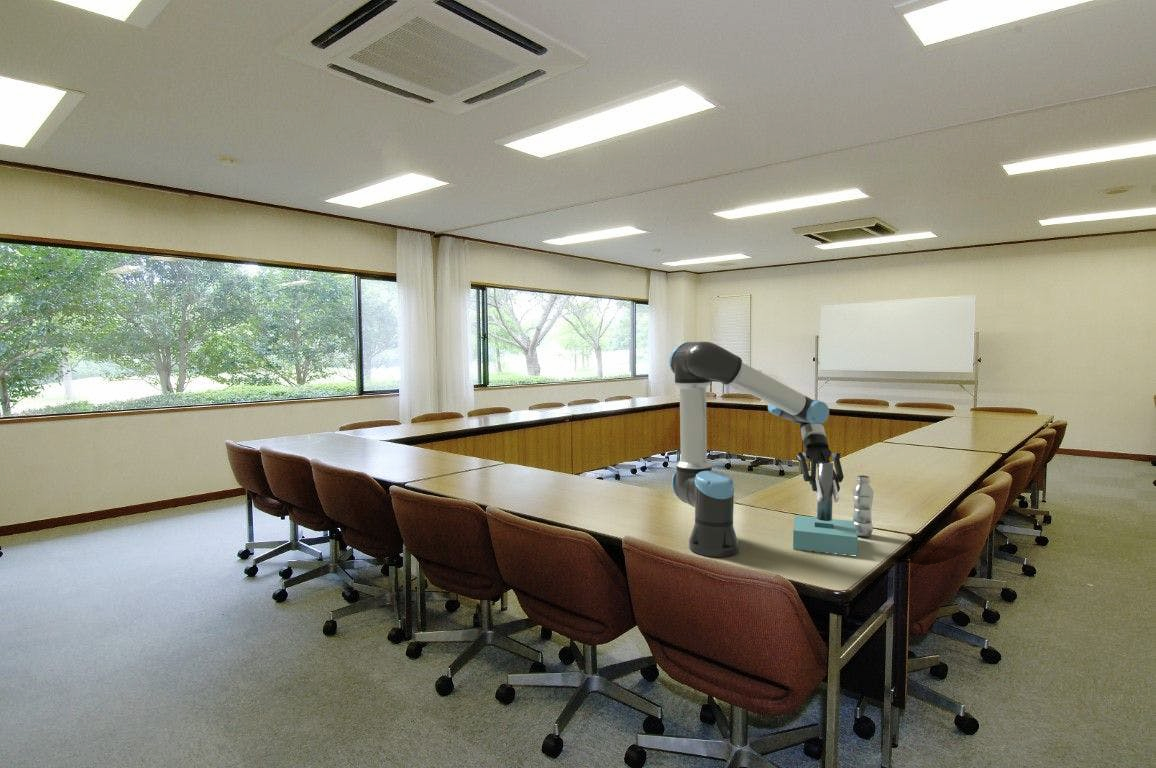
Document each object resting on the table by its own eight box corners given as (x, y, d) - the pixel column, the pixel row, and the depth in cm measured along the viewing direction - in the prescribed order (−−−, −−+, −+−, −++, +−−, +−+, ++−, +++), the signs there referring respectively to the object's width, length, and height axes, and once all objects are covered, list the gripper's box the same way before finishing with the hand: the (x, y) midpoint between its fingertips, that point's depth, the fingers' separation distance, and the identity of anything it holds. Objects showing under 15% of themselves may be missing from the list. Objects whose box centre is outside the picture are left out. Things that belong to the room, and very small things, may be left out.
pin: (817, 520, 182) (818, 464, 181) (817, 516, 186) (818, 461, 185) (832, 521, 180) (833, 465, 179) (831, 517, 184) (833, 462, 183)
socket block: (793, 549, 179) (793, 530, 178) (794, 532, 195) (794, 515, 195) (857, 556, 172) (857, 537, 171) (852, 538, 188) (853, 520, 188)
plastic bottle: (848, 535, 192) (849, 476, 191) (855, 531, 197) (857, 473, 196) (868, 540, 187) (870, 479, 186) (875, 535, 192) (877, 476, 191)
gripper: (838, 446, 196) (854, 506, 181) (786, 445, 198) (797, 505, 183) (844, 432, 191) (861, 494, 175) (790, 432, 193) (802, 492, 177)
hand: (828, 499), depth 179 cm, fingers closed on pin, 4 cm apart
